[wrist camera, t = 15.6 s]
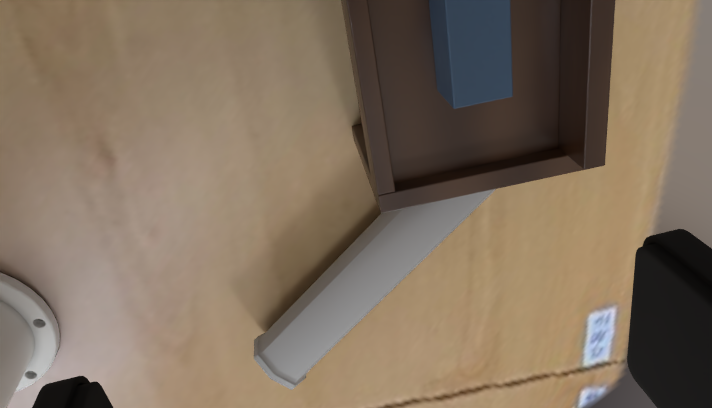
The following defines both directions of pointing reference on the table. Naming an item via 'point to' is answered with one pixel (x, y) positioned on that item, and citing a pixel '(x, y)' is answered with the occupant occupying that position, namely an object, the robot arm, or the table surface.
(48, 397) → the robot arm
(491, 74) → the stick
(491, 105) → the shelf rack
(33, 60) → the table surface
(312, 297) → the tube
